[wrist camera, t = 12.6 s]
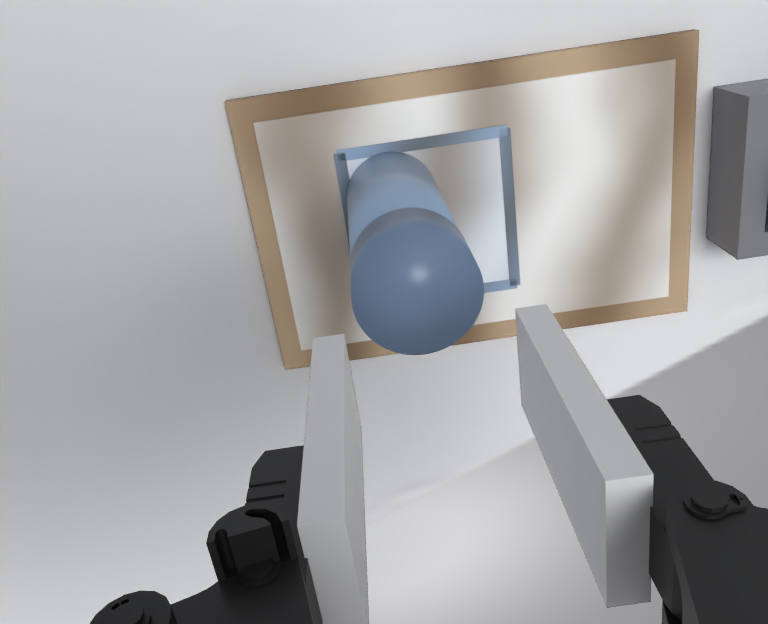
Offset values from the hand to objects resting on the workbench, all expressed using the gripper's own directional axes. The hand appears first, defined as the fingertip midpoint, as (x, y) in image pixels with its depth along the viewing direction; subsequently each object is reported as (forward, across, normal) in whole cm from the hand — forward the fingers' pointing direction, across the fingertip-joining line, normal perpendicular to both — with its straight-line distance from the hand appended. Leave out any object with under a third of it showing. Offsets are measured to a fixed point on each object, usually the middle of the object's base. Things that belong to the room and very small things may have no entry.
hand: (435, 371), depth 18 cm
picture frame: (+17, +4, -2) cm, 17 cm away
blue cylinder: (+16, 0, 0) cm, 16 cm away
